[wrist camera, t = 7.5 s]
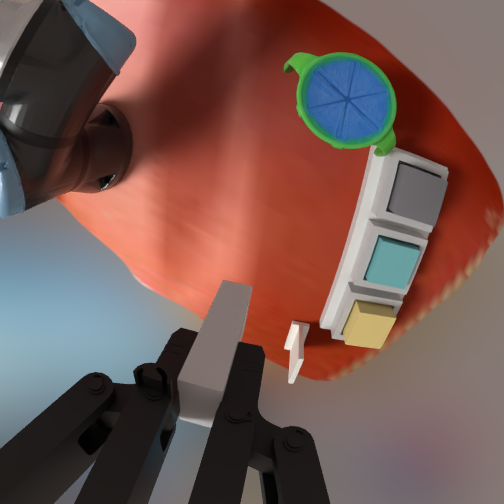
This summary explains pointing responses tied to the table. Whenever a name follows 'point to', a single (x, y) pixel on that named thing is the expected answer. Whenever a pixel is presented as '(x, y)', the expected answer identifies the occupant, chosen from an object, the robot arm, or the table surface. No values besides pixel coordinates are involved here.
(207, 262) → the table surface
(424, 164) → the board
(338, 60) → the snack cup
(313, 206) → the table surface
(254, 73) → the table surface
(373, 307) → the mustard button
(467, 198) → the table surface
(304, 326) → the sign
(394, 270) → the teal button
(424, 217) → the charcoal button
